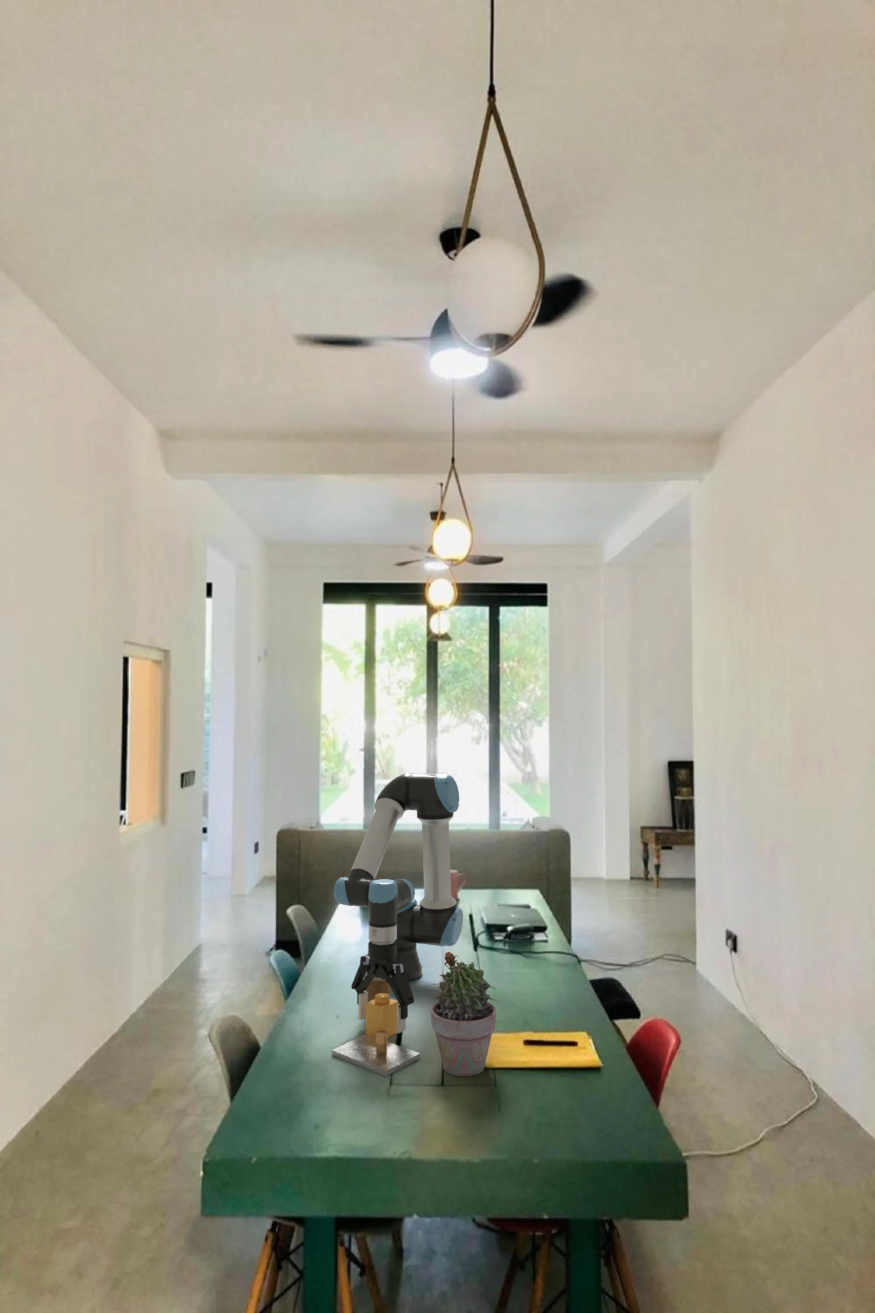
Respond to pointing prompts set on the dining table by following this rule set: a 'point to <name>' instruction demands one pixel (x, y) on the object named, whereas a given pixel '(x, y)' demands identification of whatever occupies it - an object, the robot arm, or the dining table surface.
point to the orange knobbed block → (381, 1015)
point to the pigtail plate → (376, 1054)
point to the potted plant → (463, 1019)
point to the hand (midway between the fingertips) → (381, 1025)
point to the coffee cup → (377, 986)
